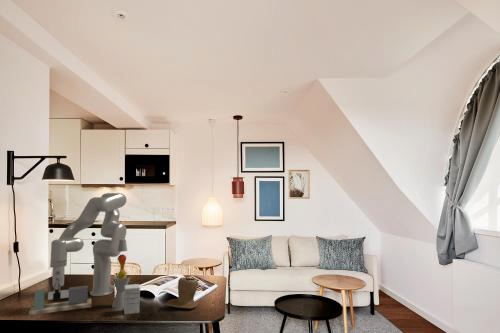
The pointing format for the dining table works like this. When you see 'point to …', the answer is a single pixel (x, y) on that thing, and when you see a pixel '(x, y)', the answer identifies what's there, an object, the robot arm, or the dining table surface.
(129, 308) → the supplement box
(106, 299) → the dining table surface
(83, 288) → the sleeve
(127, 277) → the lava lamp
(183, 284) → the brown boot
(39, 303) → the socket block
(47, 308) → the base board
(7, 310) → the dining table surface
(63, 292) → the tube
